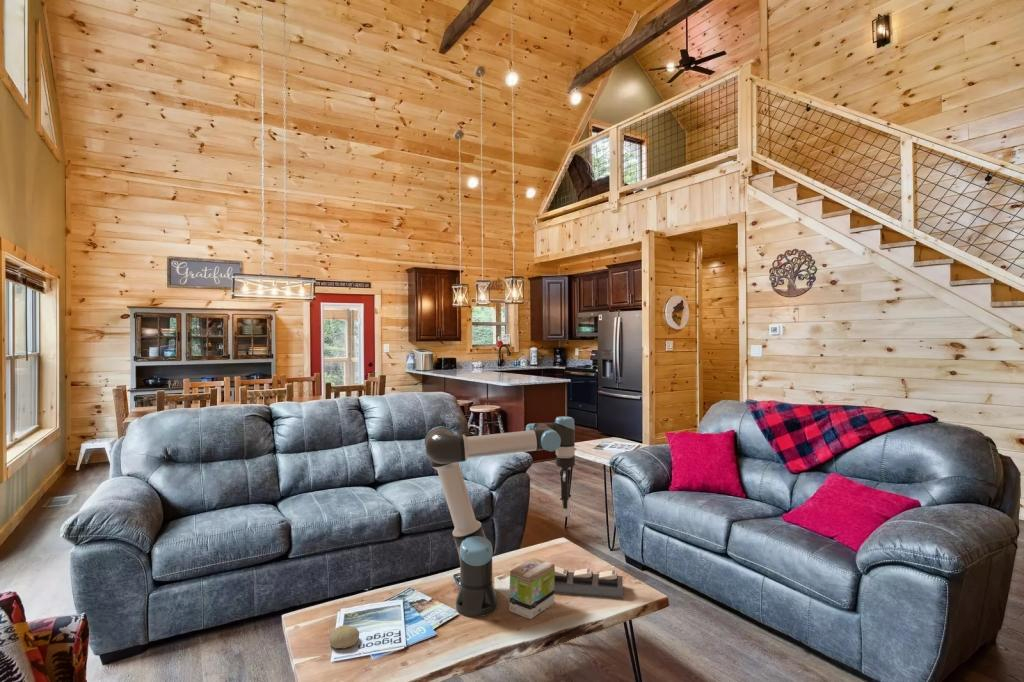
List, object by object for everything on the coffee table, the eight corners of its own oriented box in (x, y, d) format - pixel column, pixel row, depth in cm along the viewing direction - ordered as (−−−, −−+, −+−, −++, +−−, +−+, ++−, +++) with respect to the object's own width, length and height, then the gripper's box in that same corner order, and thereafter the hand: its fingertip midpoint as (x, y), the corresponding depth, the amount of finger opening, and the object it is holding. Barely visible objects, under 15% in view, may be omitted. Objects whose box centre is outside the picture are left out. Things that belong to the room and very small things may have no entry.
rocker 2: (574, 579, 208) (573, 575, 208) (575, 574, 212) (574, 570, 212) (591, 576, 206) (590, 572, 206) (591, 571, 211) (590, 567, 211)
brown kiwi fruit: (346, 625, 182) (356, 614, 178) (356, 647, 178) (366, 636, 174) (321, 637, 174) (331, 625, 171) (331, 661, 171) (342, 649, 167)
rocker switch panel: (542, 592, 207) (542, 577, 207) (546, 580, 217) (546, 566, 217) (622, 598, 202) (622, 583, 201) (622, 586, 211) (622, 572, 211)
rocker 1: (549, 573, 210) (550, 569, 209) (550, 568, 214) (551, 564, 214) (565, 579, 208) (566, 574, 208) (566, 573, 213) (567, 569, 213)
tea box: (531, 620, 187) (531, 578, 187) (508, 611, 193) (508, 570, 193) (555, 603, 199) (555, 563, 199) (533, 595, 205) (532, 556, 205)
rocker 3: (599, 581, 206) (598, 577, 206) (600, 576, 210) (599, 572, 210) (616, 578, 205) (615, 574, 205) (616, 573, 209) (615, 569, 209)
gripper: (573, 460, 208) (573, 521, 208) (576, 452, 223) (576, 509, 223) (553, 460, 209) (554, 520, 209) (558, 451, 224) (558, 508, 224)
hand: (565, 514), depth 216 cm, fingers open, 2 cm apart
